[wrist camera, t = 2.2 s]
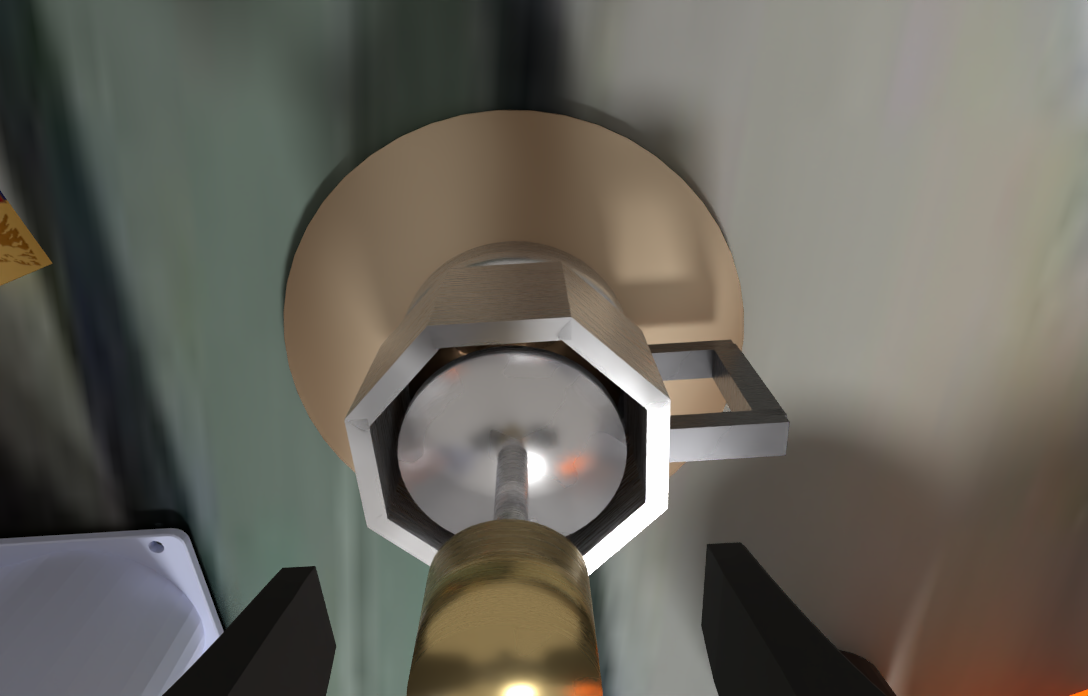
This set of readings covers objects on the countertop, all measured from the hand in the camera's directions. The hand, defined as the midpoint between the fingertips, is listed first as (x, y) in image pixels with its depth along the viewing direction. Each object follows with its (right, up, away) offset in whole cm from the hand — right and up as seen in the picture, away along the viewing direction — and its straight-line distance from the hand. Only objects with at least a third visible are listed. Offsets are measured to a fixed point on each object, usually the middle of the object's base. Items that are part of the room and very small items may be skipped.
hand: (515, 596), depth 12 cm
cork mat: (0, +5, +8) cm, 10 cm away
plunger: (0, +2, +3) cm, 4 cm away
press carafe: (+1, +5, +8) cm, 9 cm away
